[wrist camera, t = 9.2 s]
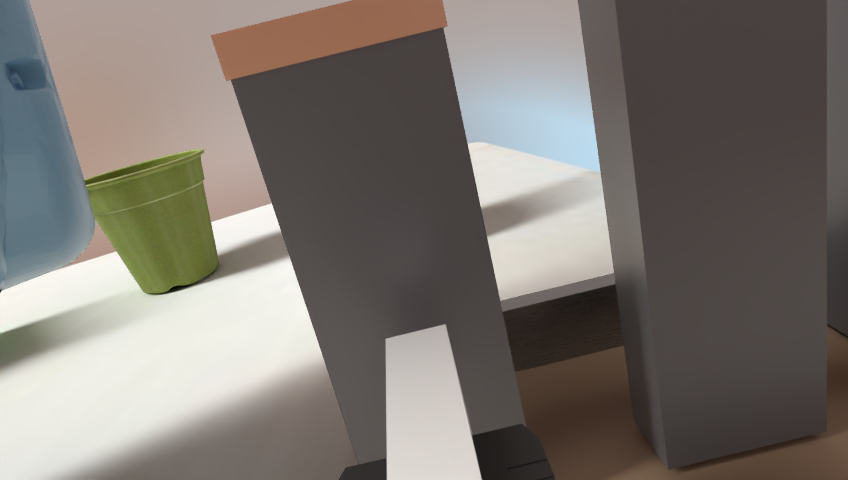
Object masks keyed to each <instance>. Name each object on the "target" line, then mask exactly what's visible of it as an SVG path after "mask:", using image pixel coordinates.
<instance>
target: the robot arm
mask: <svg viewBox="0 0 848 480" xmlns="http://www.w3.org/2000/svg"><path fill="white" fill-rule="evenodd" d="M94 229H95V218H94V213H93V209H92V205H91V202H90V198H89V195H88V191H87V188H86V184H85V181H84V177H83V174H82V170H81V167H80V164H79V160H78V157H77V154H76V151H75V147H74V144H73V141H72V137H71V134H70V131H69V127H68V124H67V121H66V117H65V114H64V111H63V107H62V104H61V101H60V98H59V95H58V92H57V89H56V86H55V82H54V79H53V76H52V73H51V69H50V66H49V62H48V59H47V56H46V52H45V49H44V46H43V43H42V40H41V36H40V33H39V30H38V27H37V24H36V21H35V18H34V15H33V11H32V8H31V5H30V2H29V0H0V292H1V291H2V290H4V289H7V288H9V287H12V286H15V285H17V284H20V283H22V282H25V281H28V280H30V279H33V278H35V277H38V276H41V275H43V274H46V273H48V272H51V271H53V270H56V269H59V268H61V267H64V266H66V265H68V264H70V263H71V262H72V261H73V260H75V259H76V258H77V257H78V256H79V255H80V254H81V253H82V252H83V251H84V250H85V249H86V248H87V246H88V245H89V243H90V241H91V239H92V237H93V234H94ZM386 435H387V458H384V459H380V460H376V461H372V462H368V463H364V464H359V465H355V466H351V467H347V468H345V470H344V472H343V473H342V475H341V477H340V479H339V480H555V477H554V474H553V471H552V469H551V466H550V464H549V463H548V459H547V457H546V454H545V452H544V449H543V447H542V444H541V442H540V439H539V438H538V437H537V436H536V435H535V434H533V433H532V432H531V431H530V430H529V429H528V428H526V427H525V426H524V425H523V424H517V425H513V426H509V427H505V428H501V429H497V430H493V431H488V432H484V433H480V434H476V435H473V434H472V430H471V426H470V421H469V417H468V413H467V409H466V405H465V401H464V397H463V393H462V389H461V385H460V381H459V377H458V373H457V369H456V364H455V360H454V356H453V352H452V348H451V344H450V340H449V336H448V332H447V328H446V324H444V325H440V326H436V327H432V328H428V329H424V330H420V331H415V332H411V333H407V334H403V335H399V336H395V337H391V338H387V339H386Z"/></svg>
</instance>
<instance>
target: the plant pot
mask: <svg viewBox="0 0 848 480" xmlns="http://www.w3.org/2000/svg"><path fill="white" fill-rule="evenodd" d="M202 153H204V149H195V150H190V151H185V152H181V153H176V154H173V155H168V156H164V157H160V158H156V159H153V160H149V161H145V162H141V163H138V164H134V165H130V166H127V167H124V168H120V169H117V170H113V171H110V172H106V173H103V174H100V175H97V176H94V177H91V178H88V179H85V180H84V181H85V184H86V188H87V191H88V195H89V198H90V202H91V205H92V209H93V213H94V218H95V219H96V221H97V222H98V224H99V225H100V227H101V228H102V230H103V231H104V233H105V234H106V236H107V237H108V239H109V240H110V242H111V244H112V245H113V246H114V248H115V250H116V251H117V253H118V254H119V256H120V257H121V259H122V260H123V262H124V263H125V265H126V266H127V268H128V269H129V271H130V273H131V274H132V276H133V277H134V279H135V280H136V282H137V283H138V285H139V286H140V287H141V289H142V290H143V292H145V293H156V294H158V293H164V292H166V291H168V290H170V288H172V287H174V286H177V285H183V286H185V285H190V284H193V283H195V282H197V281H199V280H200V279H201V278H203V277H205V276H208V275H209V274H211V273H212V272H213V271H214V270H215V269H216V268H217V265H218V255H217V250H216V245H215V240H214V235H213V230H212V225H211V220H210V215H209V211H208V206H207V200H206V195H205V191H204V185H203V180H204V175H203V169H202V163H201V157H200V156H201V154H202Z"/></svg>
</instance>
